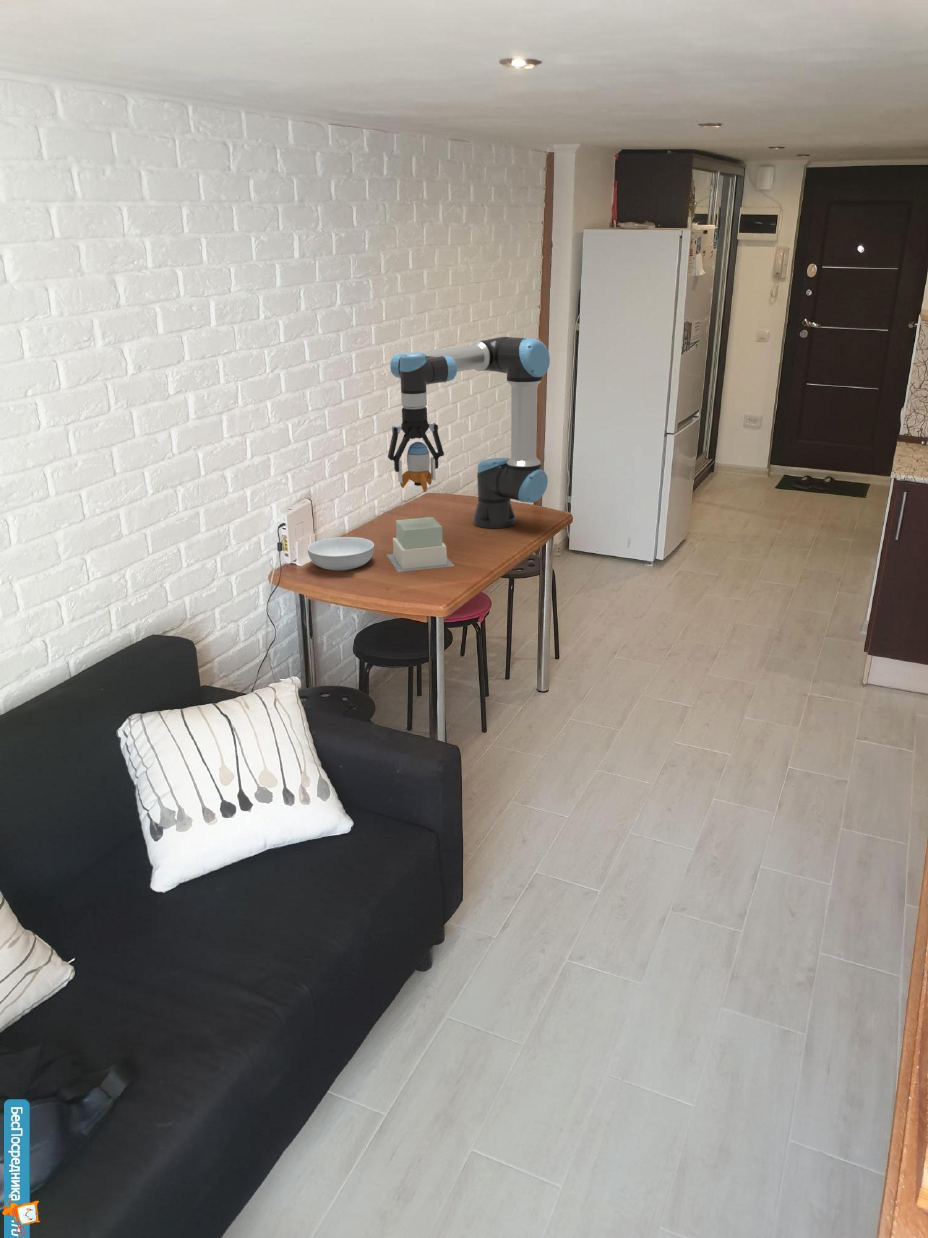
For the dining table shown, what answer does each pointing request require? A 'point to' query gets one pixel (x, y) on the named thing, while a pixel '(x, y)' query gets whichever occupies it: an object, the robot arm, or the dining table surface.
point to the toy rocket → (417, 466)
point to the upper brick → (419, 533)
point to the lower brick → (419, 556)
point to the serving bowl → (341, 553)
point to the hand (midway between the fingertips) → (416, 480)
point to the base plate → (399, 568)
